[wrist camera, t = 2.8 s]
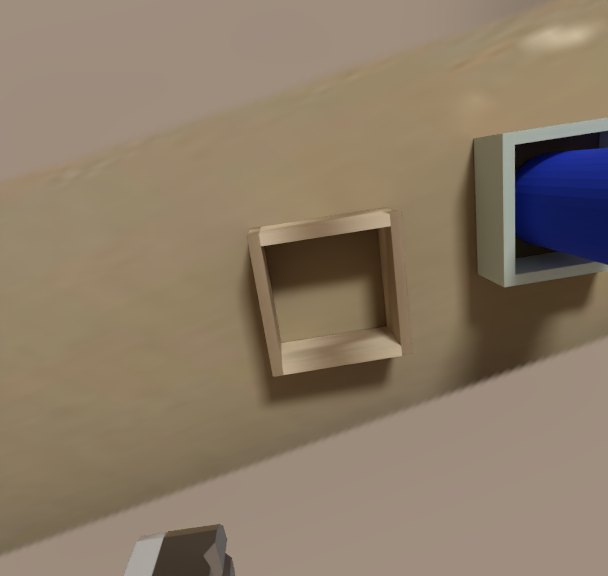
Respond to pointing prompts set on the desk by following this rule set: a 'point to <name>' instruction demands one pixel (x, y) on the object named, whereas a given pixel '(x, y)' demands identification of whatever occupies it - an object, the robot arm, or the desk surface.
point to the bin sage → (501, 209)
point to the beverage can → (565, 202)
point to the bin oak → (344, 345)
